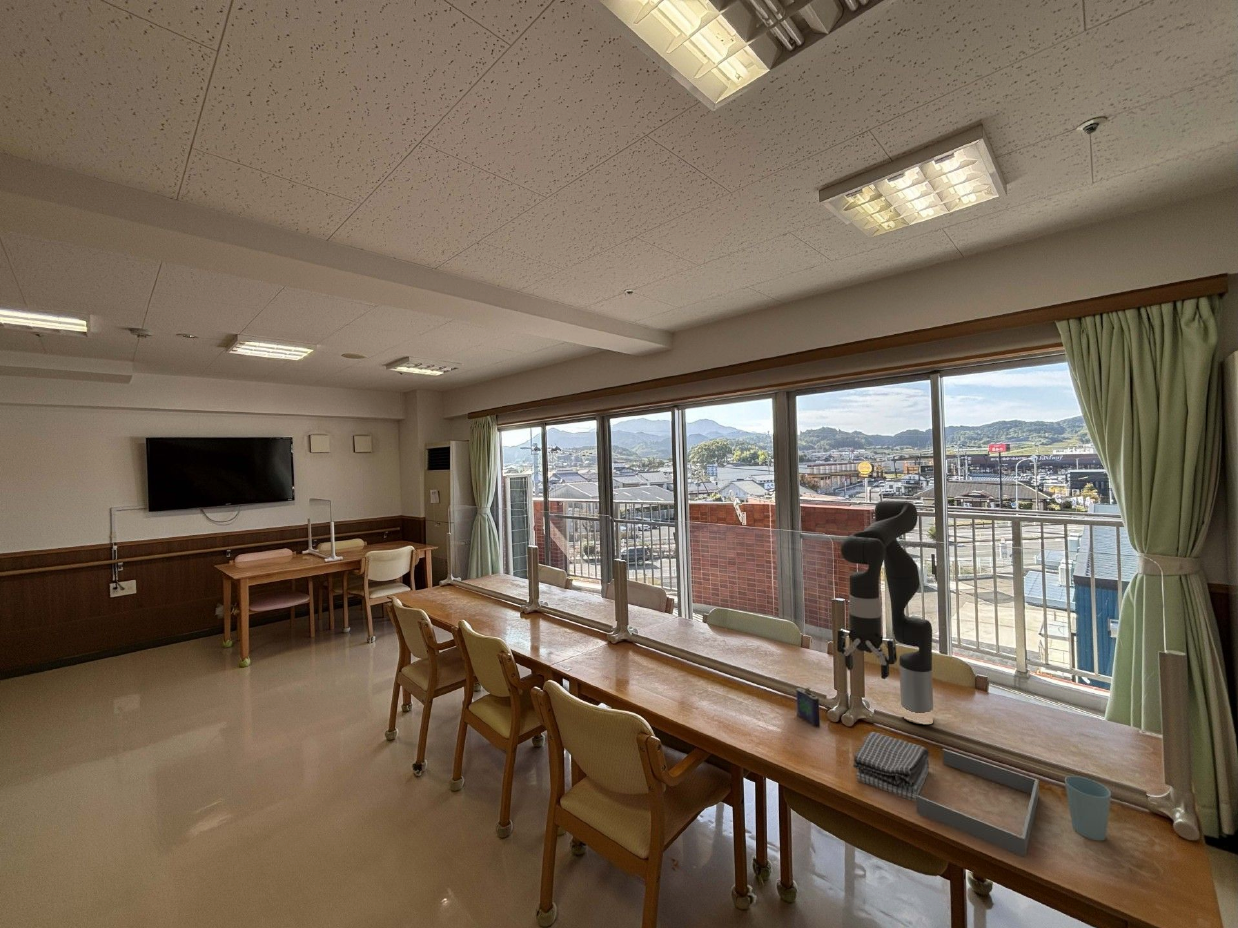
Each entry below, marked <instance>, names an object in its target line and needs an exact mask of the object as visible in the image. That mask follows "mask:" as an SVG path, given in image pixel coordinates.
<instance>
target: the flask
mask: <svg viewBox="0 0 1238 928" xmlns="http://www.w3.org/2000/svg"><path fill="white" fill-rule="evenodd" d="M810 689H811V687H804V688H800V687H798V688H796V689H795V691H796V692H795V694H796V697H795V698H796V715H797V717H798V718H801V719H802V720H803V721H805V722H808V723H810V725H812V726H813V727H818V728H819V727H820V726H821V722H820V721H821V720H820V703H819V701H820V699H819V697H818V696H816V694H814V693H812V691H811V690H810Z"/></svg>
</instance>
